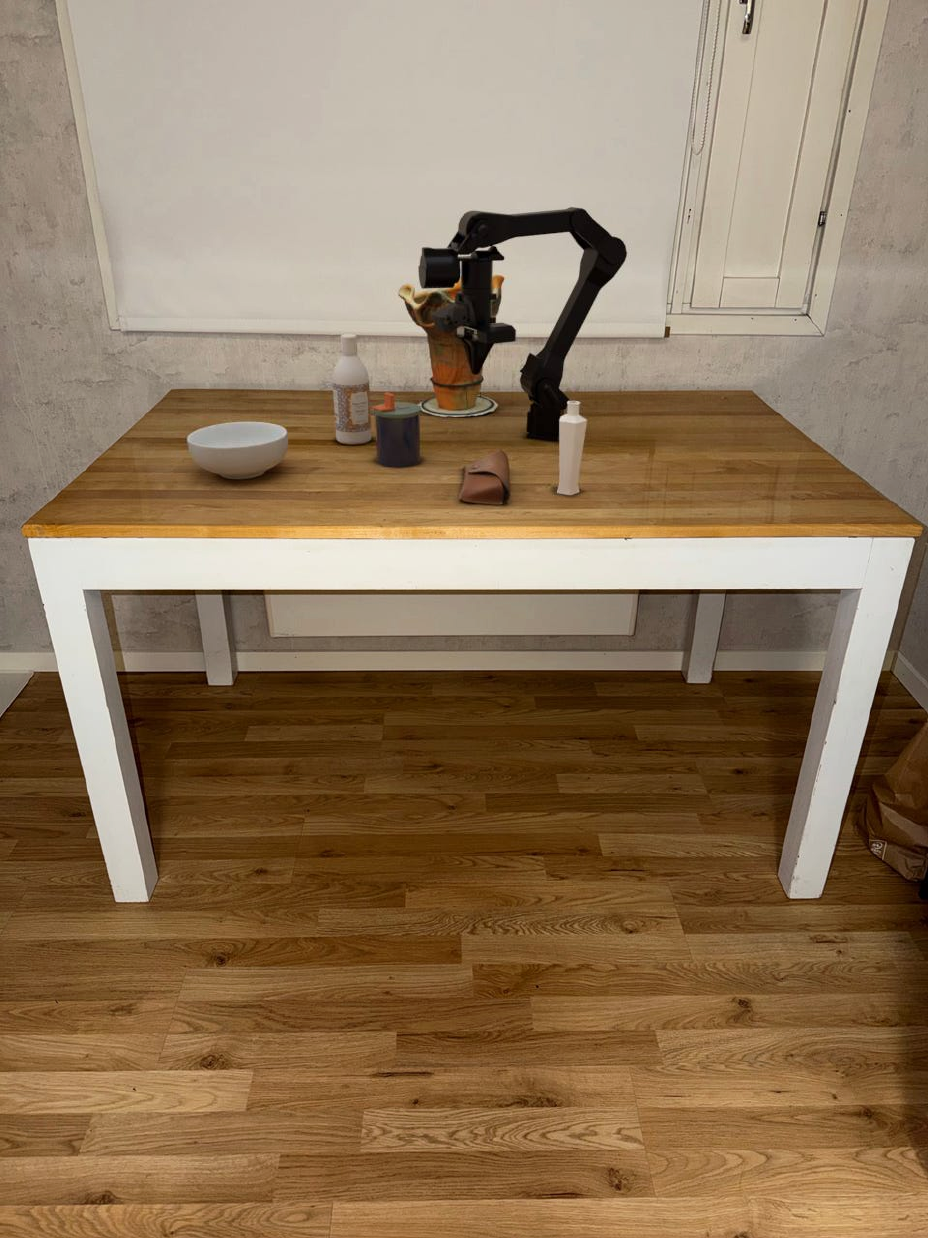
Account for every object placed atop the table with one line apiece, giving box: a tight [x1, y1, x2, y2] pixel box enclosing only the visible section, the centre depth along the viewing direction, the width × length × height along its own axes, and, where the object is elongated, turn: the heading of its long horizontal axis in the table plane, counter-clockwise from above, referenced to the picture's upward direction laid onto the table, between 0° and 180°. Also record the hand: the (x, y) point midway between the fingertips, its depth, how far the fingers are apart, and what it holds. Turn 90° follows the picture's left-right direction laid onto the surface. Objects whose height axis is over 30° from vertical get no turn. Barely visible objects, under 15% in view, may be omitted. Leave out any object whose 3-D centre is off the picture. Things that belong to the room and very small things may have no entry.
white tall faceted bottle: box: [556, 400, 588, 496], centre depth 142 cm, size 5×4×15 cm
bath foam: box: [332, 333, 372, 446], centre depth 165 cm, size 7×7×20 cm
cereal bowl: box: [186, 421, 289, 480], centre depth 151 cm, size 17×17×7 cm
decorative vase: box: [397, 274, 505, 418], centre depth 186 cm, size 21×23×28 cm
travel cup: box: [372, 401, 422, 468], centre depth 157 cm, size 9×9×10 cm
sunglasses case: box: [458, 448, 511, 506], centre depth 146 cm, size 18×7×7 cm
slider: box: [372, 391, 395, 412], centre depth 153 cm, size 3×3×3 cm
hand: (475, 374), depth 164 cm, fingers closed
